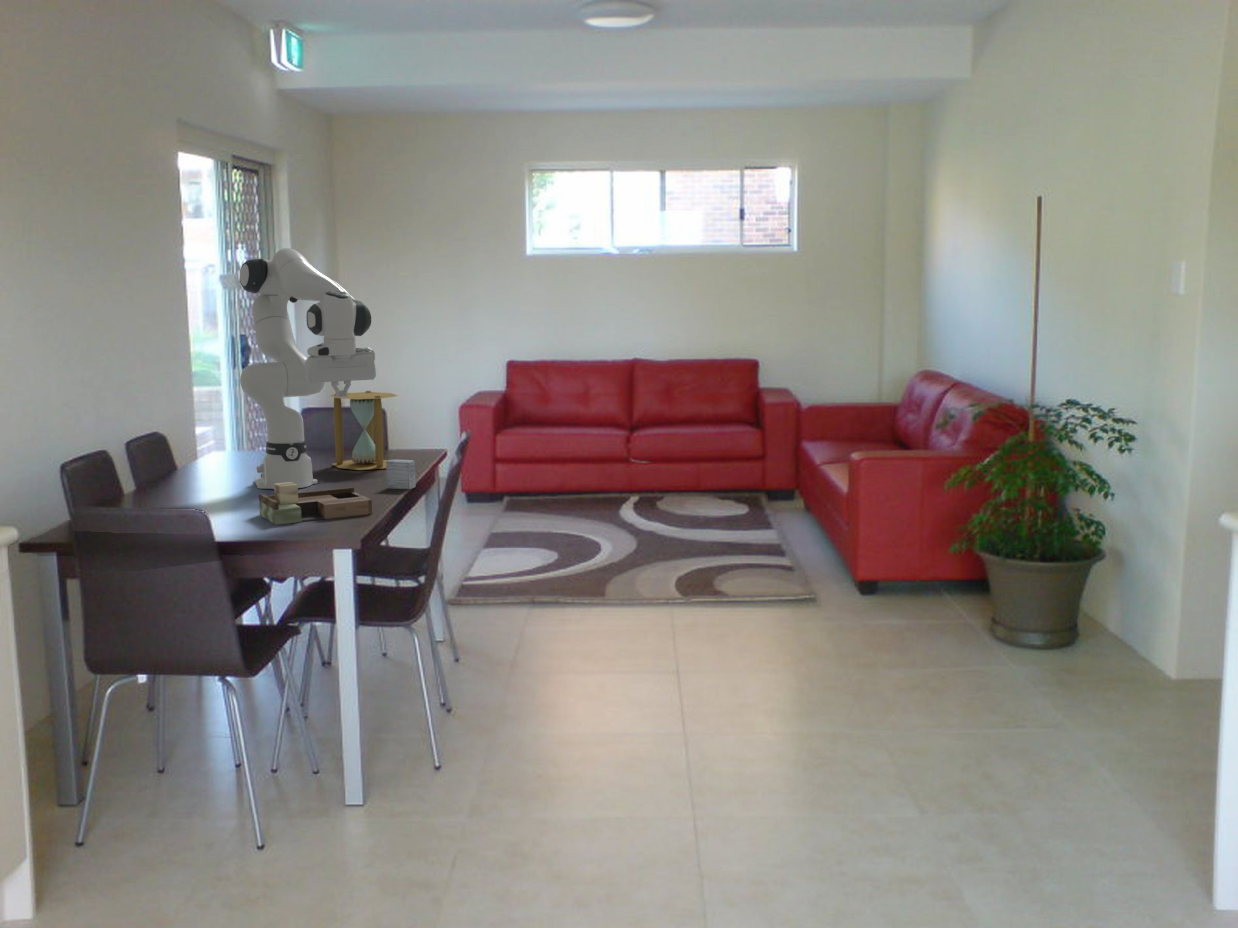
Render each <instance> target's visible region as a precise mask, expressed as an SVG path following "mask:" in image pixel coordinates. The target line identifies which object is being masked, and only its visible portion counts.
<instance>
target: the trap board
mask: <svg viewBox="0 0 1238 928" xmlns="http://www.w3.org/2000/svg"><path fill="white" fill-rule="evenodd" d="M258 499H259V500H258V503H259V516H261V517H263V518H264V519H266V520H268V521H269V522H270V523H272V524H274V525H276V526H277V525H278V526H279V525H284V524H285V525H286V524H293V523H294V524H295V523H301V522H302V523H304V522H311V521H321V520H330V519H331V520H332V519H339V518H347V517H356V516H366V515H372V514H373V502H372V501H373V500H372V499H371V498H369V497H367V496H364V495H362V494H360V493H357V492H355V487H343V488H342V487H341V488H331V489H322V490H312V491H303V492H302V491H301V492H298V503H290V504H279V503H278V502H277V501H275V496H274V494H271V495H266V494H265V493H263V492H262V493H258Z"/></svg>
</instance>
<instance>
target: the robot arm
mask: <svg viewBox="0 0 1238 928" xmlns="http://www.w3.org/2000/svg"><path fill="white" fill-rule="evenodd" d="M239 283H240V286H241V287H242V289H243V290H244V291H246V292H248V293H252V294H254V295H255V294H258V295H257V296H256V297H255V298H254V299H253V304H252V319H253V327H254V331H255V338H256V342H257V347H258V349H259V351H260V353H262V354H263V355H264V356H265V357H268V358H270V359H272V360H274V361H273V362H259V363H254V364H253V363H252V364H250V365H246V366H245V367H244V368H243V370H242V372H241V374H240V378H239V379H240V380H239V384H240V388H241V389H242V391H243V392H244V395H247V397H249V398H250V399H252V400H253V401H254V402H255V403H256V404H257V405H258V406H259V408H260V409H261V411H262V413H263V416H264V418H265V424H266V426H265V427H266V432H267V434H266V435H267V441H266V446H265V453H266V454H265V456H264V458H263V459H262V462H261V464H260V465H256V473H257V474H260V476H259V477H255V478H254V484H255V485H256V488H257V489H263V490H264V489H268V490H269V489H270V490H274V484H276V483H286V482H293V483H295V484H297V485H298V489H301V488H306V487H310V486H312V485H314V484H318V479H316V478H314V477H313V466H312V459H311V457H310V456H309V455H308V454H307V453H306V452H307V444H306V440H305V427H304V418H303V416H302V414H301V413H300V412H299V411H297V410H296V409H293V408H291V407H290V406H286V405H285V403H284V398H295V397H309V396H311V395H315V394H316V395H317V394H319V393H320V392H321V391H322V390H323V388H324V387H325V384H326V383H331V384H330V386H331V387H332V388H333V390H334V391H335V394H336V397H347V393H348V391H349V389H350V387H351V385H352V381H353V382H354V381H355V382H357V381H370V380H371V381H372V380H374V379H376V377H377V370H376V364H375V360H376V353H375V351H374V350H373V349H371V348H370V347H358V348H357V347H356V346H357V345H356V337H362V336H363V335H365V333H367V332H368V330H369V329H370V327H371V326H372V325H371V324H372V314H371V312H370V309H369V308H368V306H367V305H365V303H363V302H362V301H360V300H357V299H356V298H354V297H353V296H352V295H351V294H350V293H349V292H348V291H347V290H346V289H345V288H344V287H343V286H342V285H341V284H339V283H338V282H337V281H336V280H334V279H332V278H331V277H329V276H327V275H325V274H323V273H322V272H320V271H319V270H317V268H315V267H314V266H313V265H312V264H311V263H310V262H309V260H308V259H307V258H306V257H305V256H304V255H303V254H302V253H300V252H299V251H297V250H296V249H294V248H290V247H285V248H282V249H281V248H280V250H278V251H277V252H275V254H274V255H273V257H272V259H264V258H254V259H248V260H246V261H245V262H244V263H242V265H241V267H240V271H239ZM298 300H300V301H313V302H314V301H315V302H316V303H313V304H312V305H311V306H310V307H309V308H308V310H307V311H306V326H307V329H308V330H309V331H310V332H311V333H312V334H313V335H315V336H322V337H323V342H321V343H319V344H316V345H312V346H310V347H308V348H307V349H306V350H307V351H306V352H307V355H308V356H306V355H305V353H303V351H302V350H301V349H300V348H299V346H298V345H297V342H296V339H295V336H294V333H293V329H292V325H291V320H290V316H289V313H288V303H289V302H290V303H293V304H294V303H297V302H298ZM275 361H276V362H275ZM339 382H343V385H344V387H343V389H342V390H340V389H339V387H338V386H339Z"/></svg>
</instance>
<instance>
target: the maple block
mask: <svg viewBox="0 0 1238 928" xmlns="http://www.w3.org/2000/svg"><path fill="white" fill-rule="evenodd" d="M273 493H274V494H273V495H274V496H275V501H277V502H278V503H279V504H290V503H298V493H299V488H298V485H297V484H295V483H293V482H286V483H276V484H274V489H273Z"/></svg>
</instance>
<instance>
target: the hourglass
mask: <svg viewBox="0 0 1238 928" xmlns="http://www.w3.org/2000/svg"><path fill="white" fill-rule="evenodd" d="M329 396H330V397H332V398H333V426H334V427H333V429H334V445H335V446H334V447H335V450H334V451H335V461H336V462H335V463H334V462H333V463H331V465H332V466H334V467H336V468H338V469H344V470H345V469H346V470H355V471H356V470H357V471H364V470H366V471H367V470H376V469H377V470H383V469H386V462H387V461H389V460H390V459H384V429H383V428H384V427H383V424H384V423H383V406H382V405H383V403H382V399H386V398H388V399H389V398H393V397H399V395H398V394H394V393H391V392H389V393H388V392H376V391H374V392H373V391H372V390H366V391H364V392H362V391H361V392H347V397H336V393H334V394H330V395H329ZM342 399H345V400H349V406H350V410H351V412H352V414H353V415H354V417H355V419H356V420H357V422H358V423H359V424H360V427H361V428H362V429H363V431H362V432H361V435H360V436H359V438H358V439H357V441H356V444H355V445H354V447H353V449H352V452H351V453H352V454H351V459H348V460H344V429H343V427H344V426H343V413H342V412H343V411H342V408H343V407H342V406H343V405H342Z"/></svg>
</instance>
